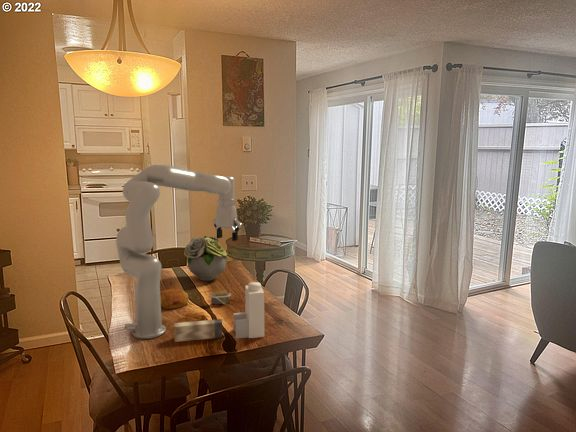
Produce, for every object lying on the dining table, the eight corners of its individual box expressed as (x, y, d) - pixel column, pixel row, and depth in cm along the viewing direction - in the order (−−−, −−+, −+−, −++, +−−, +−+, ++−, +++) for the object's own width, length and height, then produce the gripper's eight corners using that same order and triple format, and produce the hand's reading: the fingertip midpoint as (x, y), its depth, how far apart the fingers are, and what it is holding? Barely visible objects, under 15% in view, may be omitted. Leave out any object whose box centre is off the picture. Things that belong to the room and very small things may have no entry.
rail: (174, 341, 159) (174, 326, 158) (174, 337, 162) (174, 323, 161) (222, 337, 163) (222, 322, 162) (221, 333, 166) (221, 319, 165)
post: (236, 339, 161) (235, 289, 158) (233, 328, 171) (232, 281, 167) (264, 336, 164) (264, 287, 160) (260, 326, 173) (259, 279, 170)
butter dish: (240, 308, 194) (240, 294, 193) (201, 311, 190) (200, 297, 189) (238, 299, 206) (237, 286, 205) (200, 302, 202) (200, 288, 201)
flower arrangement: (175, 282, 230) (174, 238, 226) (201, 270, 252) (200, 230, 249) (214, 288, 220) (213, 243, 216) (237, 275, 243) (237, 234, 239)
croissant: (155, 305, 201) (151, 290, 200) (187, 297, 207) (184, 281, 206) (158, 315, 188) (155, 299, 187) (193, 306, 194) (190, 290, 193)
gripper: (207, 202, 196) (208, 238, 198) (235, 205, 186) (235, 243, 189) (218, 200, 202) (219, 235, 204) (246, 203, 192) (246, 240, 195)
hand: (227, 239), depth 197 cm, fingers open, 9 cm apart
